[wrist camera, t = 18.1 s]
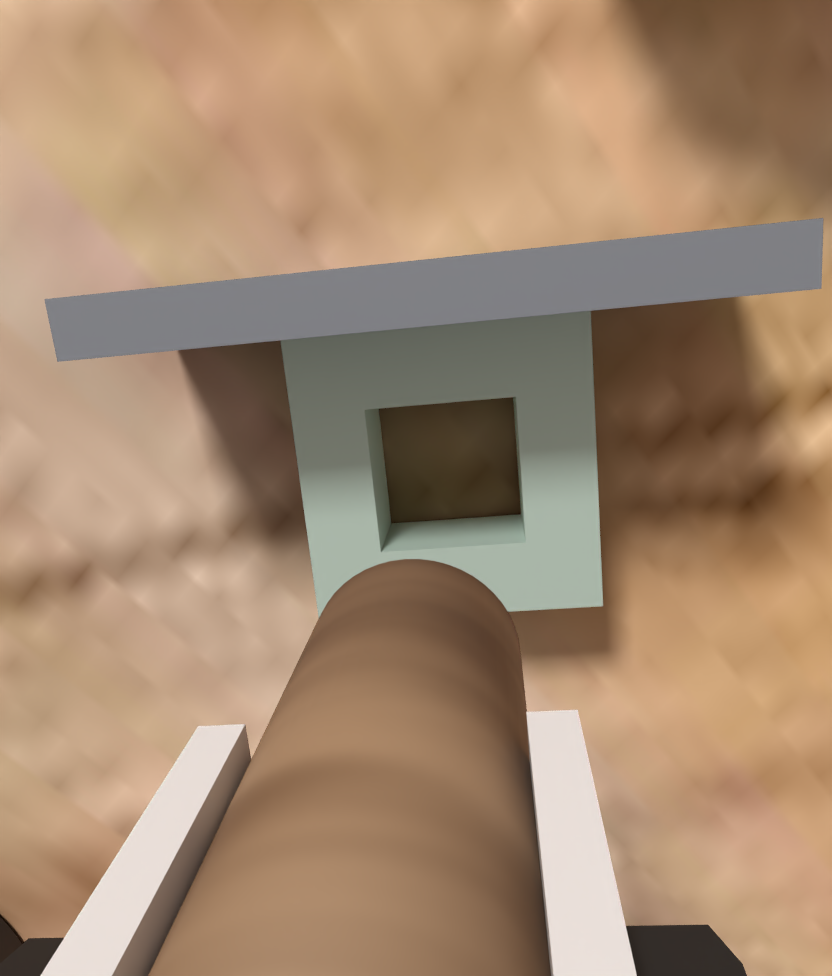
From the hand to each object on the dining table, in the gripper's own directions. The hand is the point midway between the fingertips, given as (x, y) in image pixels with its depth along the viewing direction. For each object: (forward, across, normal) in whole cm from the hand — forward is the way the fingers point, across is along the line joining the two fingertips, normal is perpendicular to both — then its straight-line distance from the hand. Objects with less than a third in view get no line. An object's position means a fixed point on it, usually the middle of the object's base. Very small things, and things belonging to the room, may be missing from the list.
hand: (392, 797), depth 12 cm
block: (+25, 0, 0) cm, 25 cm away
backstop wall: (+25, 0, -7) cm, 26 cm away
